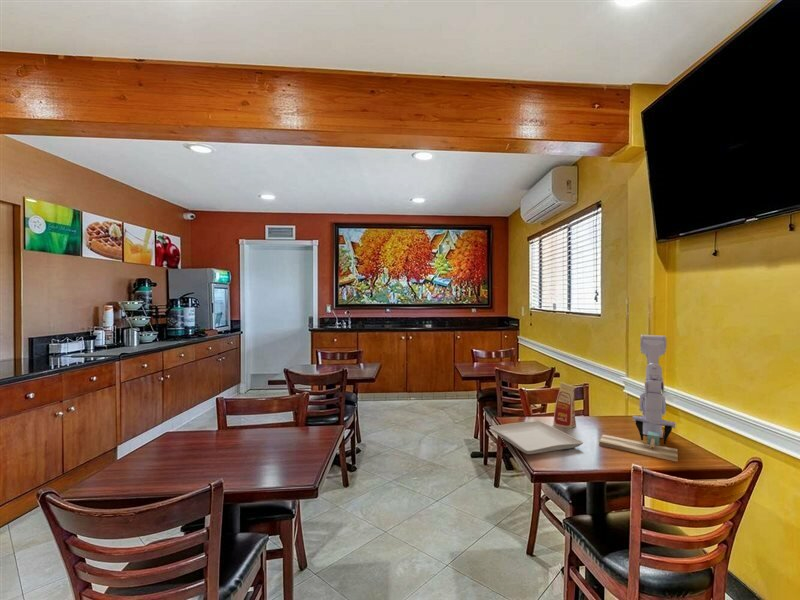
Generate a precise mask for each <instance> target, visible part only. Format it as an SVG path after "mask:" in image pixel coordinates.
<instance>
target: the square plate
mask: <svg viewBox="0 0 800 600" xmlns="http://www.w3.org/2000/svg"><path fill="white" fill-rule="evenodd" d="M489 429H490V430H491V431H492V432H493V433H494V434H495V435H497V436H498V437H499V438H502V439H503V440H504V441H506V442H507V443H509V444H511V445H512V446H513V447H515V448H516V449H518V450H519V451H521V452H523V453H524V454H526V455H534V454H542V453H547V452H553V451H560V450H561V451H562V450H568V449H574V448H578V447H580V446H581V445H583V444H584V442H583V441H582V440H580V439H577V438H575V437H574V436H572V435H570V434H568V433H566V432H565V431H562V430H560V429H558V428H557V427H556V428H555V427H554V426H551V425H549V424H547V423H545V422H542V421H541V420H540V421H539V420H536V421H523V422H513V423H512V422H511V423H505V424H504V423H503V424H498V425H497V424H496V425H491V426H489Z"/></svg>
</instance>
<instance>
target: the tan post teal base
mask: <svg viewBox="0 0 800 600" xmlns="http://www.w3.org/2000/svg"><path fill="white" fill-rule="evenodd" d="M646 443H649V444H650V447H651V448H653V447H654V445H659V446H660V437H659V433H656V432H651V431H648V433H647V435H646Z"/></svg>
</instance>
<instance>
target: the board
mask: <svg viewBox="0 0 800 600" xmlns="http://www.w3.org/2000/svg"><path fill="white" fill-rule="evenodd" d="M598 444H599V446H601V447H606V448H611V449H616V450H620V451H626V452H628V453H629V452H630V453H635V454H638V455H644V456H648V457H653V458H658V459H662V460H663V459H664V460H667V461H673V462H677V463H678V460H679V455H678V451H679V450H678V448H673V447H669V446H663V445H660V444H659V445H654V447H653V448H651V447H650V444H649V443H647V442H645V441H638V440H634V439H633V440H632V439H628V438H624V437H617V436H613V435H608V434H602V435H601V438H600V439H599V441H598Z"/></svg>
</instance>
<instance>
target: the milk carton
mask: <svg viewBox="0 0 800 600" xmlns="http://www.w3.org/2000/svg"><path fill="white" fill-rule="evenodd" d="M559 383H560V386H559V390H558V394H557V398H556V400H555V406H554V414H553V422H552V423H553V426H557V427H561V428H567V429H572V428H574V427H576V426H577V423H576V412H575V410H576V409H575V389H576V388H577V386H574V385H570V384H567V383H565V382H562V381H560V382H559Z"/></svg>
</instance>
